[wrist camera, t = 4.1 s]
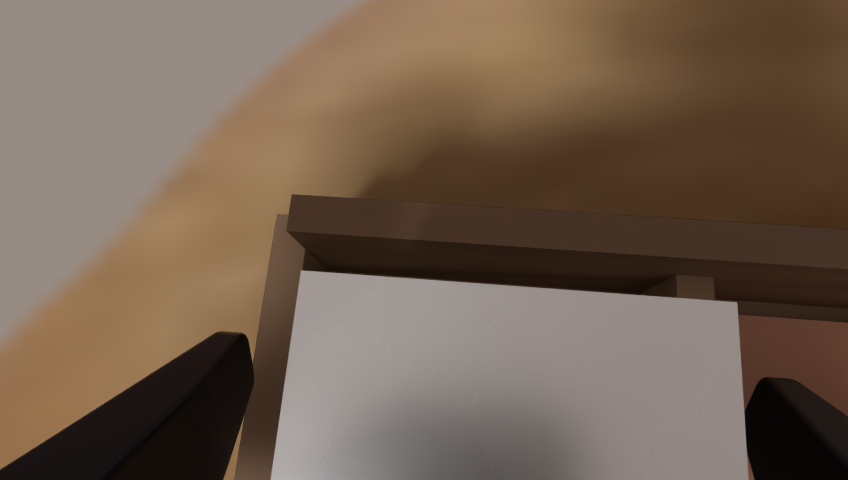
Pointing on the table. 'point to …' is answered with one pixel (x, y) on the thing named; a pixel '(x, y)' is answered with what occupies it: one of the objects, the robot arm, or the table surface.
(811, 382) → the divided wooden tray
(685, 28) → the table surface
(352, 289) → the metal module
